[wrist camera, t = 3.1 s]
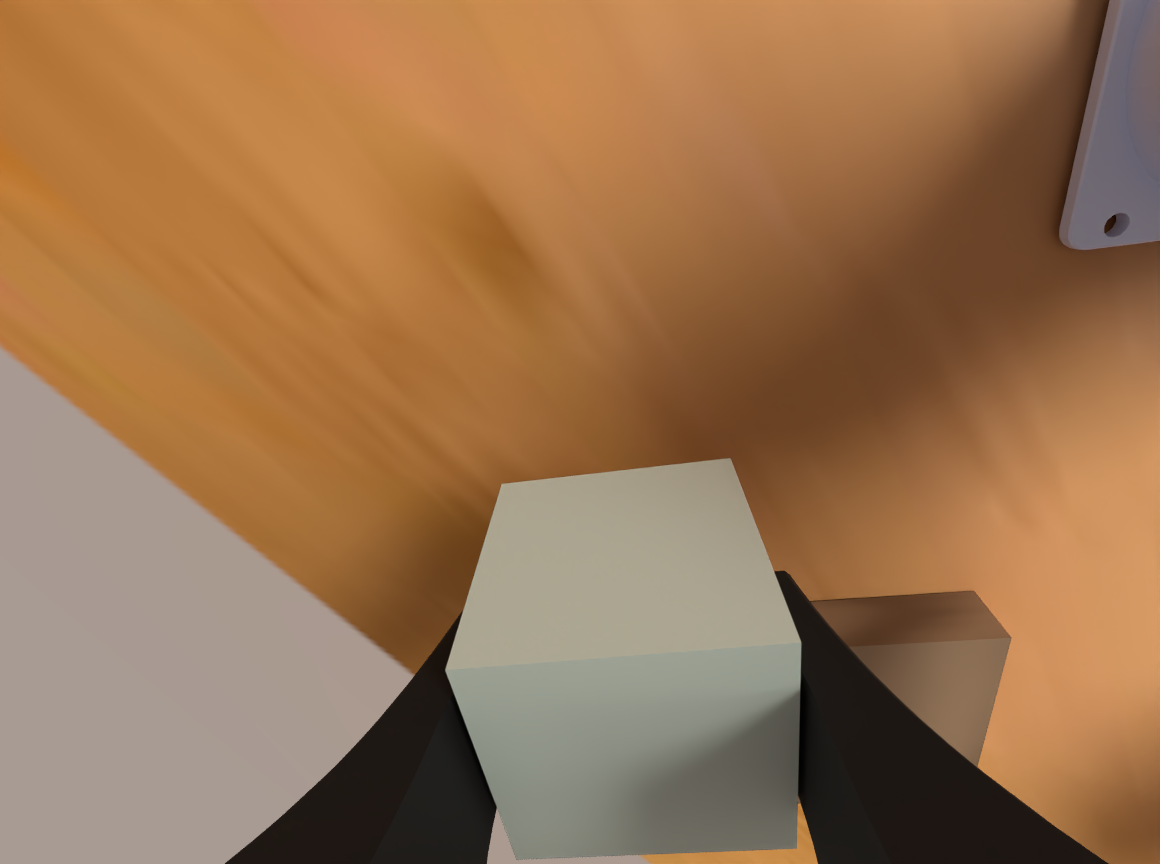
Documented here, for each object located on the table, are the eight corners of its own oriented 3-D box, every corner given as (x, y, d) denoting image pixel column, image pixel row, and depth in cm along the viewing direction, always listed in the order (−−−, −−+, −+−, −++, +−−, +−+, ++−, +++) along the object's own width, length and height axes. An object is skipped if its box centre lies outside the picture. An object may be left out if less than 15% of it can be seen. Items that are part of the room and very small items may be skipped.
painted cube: (730, 457, 12) (801, 642, 8) (738, 629, 14) (796, 848, 10) (501, 484, 13) (445, 670, 8) (543, 644, 15) (516, 859, 11)
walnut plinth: (974, 590, 19) (1011, 637, 17) (940, 746, 22) (968, 798, 21) (727, 607, 20) (739, 652, 18) (733, 754, 23) (742, 804, 22)
